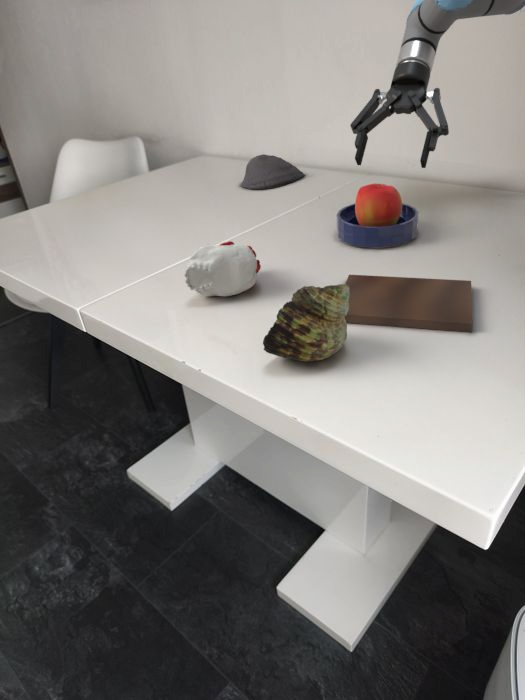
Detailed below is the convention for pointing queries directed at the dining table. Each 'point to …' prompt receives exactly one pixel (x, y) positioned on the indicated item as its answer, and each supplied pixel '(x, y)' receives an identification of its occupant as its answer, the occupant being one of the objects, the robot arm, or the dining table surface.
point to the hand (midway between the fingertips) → (389, 163)
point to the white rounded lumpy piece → (222, 269)
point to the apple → (378, 205)
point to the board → (410, 302)
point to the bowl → (377, 229)
